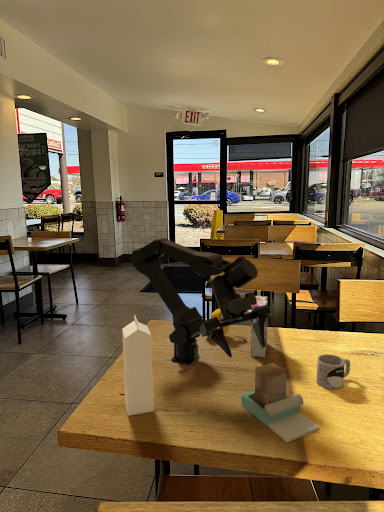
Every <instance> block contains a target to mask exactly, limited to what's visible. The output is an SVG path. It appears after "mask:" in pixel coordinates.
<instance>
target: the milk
mask: <svg viewBox="0 0 384 512" xmlns="http://www.w3.org/2000/svg"><path fill="white" fill-rule="evenodd" d="M133 316H134V317H133V319H134V320H133V321H132V322H130V323H129V324H127V325H126V326H124V327H123V328H122V330H121V333H122V353H123V354H122V357H123V358H122V360H123V361H122V362H123V380H124V382H123V383H124V402H125V407H126V412H127V416H128V417H129V416H133V415H134V416H135V415H141V414H147V413H152V412H154V409H155V407H154V406H155V405H154V374H153V342H152V341H153V336H152V334H151V333H152V332H151V331H150V329H149V327H148V325H146V324H144V323H141V322H139V321H138V319H137V317H136V314H133Z"/></svg>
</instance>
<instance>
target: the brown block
mask: <svg viewBox="0 0 384 512" xmlns="http://www.w3.org/2000/svg"><path fill="white" fill-rule="evenodd" d="M254 374H255V378H254V379H255V380H254V391H255V402H256V403H257V404H258V405H259V406H261V407H262V408H263V409H264V410H265V405H268V404H271V403H273V402H276V401H279V400H282V399H285V398H286V395H287V378H288V371H287V370H285V369H283V368H282V367H280V366H278V365H277V364H275V363H274V362H271V363H268V364H263V365H259V366H256V367H255V373H254Z"/></svg>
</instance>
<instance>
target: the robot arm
mask: <svg viewBox="0 0 384 512" xmlns="http://www.w3.org/2000/svg"><path fill="white" fill-rule="evenodd" d="M163 256H166V257H168V258H170V259H173V260H175V261H177V262H180V263H183V264H185V265H187V266H189V267H190V269H191V270H192V271H193V272H194V273H196V274H197V275H198V276H200V277H201V278H207V281H206V283H205V285H204V288H205V289H212V292H213V294H214V297H215V300H216V302H217V305H216V307H217V309H220V311H221V314H222V316H223V319H222V320H220V321H219V319H218V318H217V317H215V318H212V317H210V318H209V319H204V316H202V315H201V314H200V312H199V311H198V309H197V307H196V306H194V307H191V308H190V307H189V306H187V305H186V303H184V301H183V298H181V296H180V294H179V293H178V292H177V290H176V288H174V286H173V284H172V282H171V281H170V280H169V278H168V277H167V275H166V274H165V272H164V271H163V269H162V263H161V262H162V261H161V259H160V257H163ZM130 263H131V265H132V266H133V267H134V269H136V271H137V272H138V273H140V274H142V275H144V276H145V277H146V278H148V280H149V282H150V283H151V284H152V286H153V287H154V289H155V291H156V292H157V293H158V295H159V297H160V298H161V300H162V302H163V303H164V304H165V306H166V308H167V310H168V311H169V312H170V314H171V316H172V326H173V328H174V330H173V331H172V332H171V333H170V334H169V335H168V338H169V342H170V343H171V344H172V343H173V357H171V358H170V359H171V361H172V362H176V363H180V364H183V365H184V364H185V365H188V366H190V365H192V364H193V363H194V362H195V361H197V359H198V358H199V357H200V354H199V344H198V343H197V342H198V341H197V338H200V337H202V338H203V337H207V339H208V340H209V339H211V340H212V341H214V343H216V345H218V346H219V347H220V348H221V349H222V351H223V352H224V353H225V354H226V355H227V357H229V358H231V359H232V357H233V354H232V350H231V348H230V345H229V344H228V341H227V338H226V336H225V335H224V332H223V327H226V326H229V327H230V326H233V325H237V324H238V325H239V324H240V323H245V322H249V321H250V322H251V321H252V322H253V323H254V324H253V325H252V327H253V329H254V332H255V334H256V336H257V338H258V341H259V343H260V345H261V347H262V348H264V347H265V335H264V326H265V321H266V320H267V321H268V319H269V317H271V315H273V312H272V309H271V307H270V306H269V305H268V306H267V305H263V306H259V307H255V308H254V309H253V310H252V305H255V304H257V300H256V297H255V296H256V294H255V293H254V291H251V292H247V293H246V292H245V294H244V297H242V296H241V295H240V293H238V292H237V290H236V288H237V289H241V288H242V287H244V286H246V285H247V284H249V283H250V282H252V281H253V280H255V279H257V278H258V275H259V274H258V269H257V268H256V265H255V264H253V263H252V262H251V261H250V260H249V259H246V258H245V256H244V255H239V256H238V257H237V258H236V259H235V260H234V261H233V262H231V261H228V260H226V259H224V258H223V257H222V256H221V255H220V254H219V253H214V252H207V251H199V250H194V249H193V248H190V247H186V246H184V245H182V244H180V243H179V244H178V243H176V242H174V241H172V240H170V239H168V238H166V237H162V238H156V239H154V240H153V241H151V242H149V243H148V244H146V245H144V246H142V247H141V248H139V249H134V250H133V251H132V253H131V255H130ZM221 274H222V275H221ZM213 276H215V277H213ZM210 277H213V278H210ZM248 311H250V312H249V313H248Z"/></svg>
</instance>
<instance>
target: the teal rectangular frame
mask: <svg viewBox="0 0 384 512" xmlns="http://www.w3.org/2000/svg"><path fill="white" fill-rule="evenodd" d="M240 398H241V399H240V401H241V404H240V405H241V406H243V408H245V409H246V410H247V411H248V412H250V413H251V414H252V415H253V416H254V417H255V418H256V419H258V420H259V421H260V422H261V423H262V424H263V425H265V426H266V427H268V428H269V429H270V430H272V432H274V433H275V434H276V435H277V436H279V438H280V439H282V440H283V441H284V442H285V443H290V442H291V441H294V440H296V439H298V438H301V437H304V436H307V435H308V434H311V433H314V432H316V431H318V430H320V429H319V428H320V426H319V425H318V424H316V423H315V422H313V421H312V420H310V419H309V418H308V417H307V416H305V415H304V414H302V413H301V412H300V410H301V406H303V405H304V398H303V396H302V395H301V394H299V393H298V394H294V395H292V396H289V395H288V394H286V398H285V399H282V400H279V401H276V402H273V403H271V404H268V405H265V410H264V409H263V408H262V407H261V406H259V405H258V404H257V403H256V402H255V390H253V391H249V392H245V393H244V394H241V397H240Z"/></svg>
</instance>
